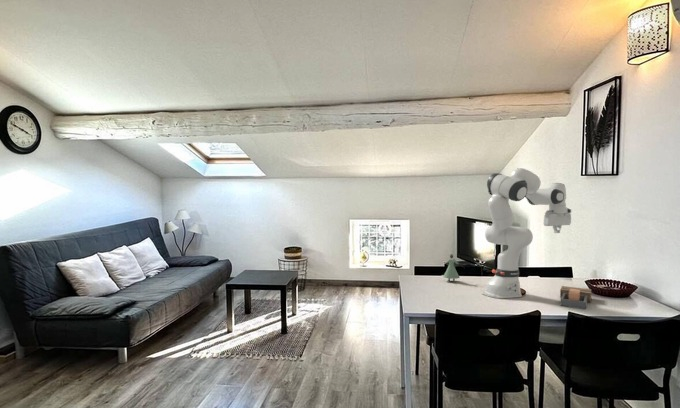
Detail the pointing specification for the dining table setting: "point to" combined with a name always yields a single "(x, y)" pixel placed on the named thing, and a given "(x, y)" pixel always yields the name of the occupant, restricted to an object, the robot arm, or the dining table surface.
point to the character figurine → (451, 269)
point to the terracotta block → (574, 294)
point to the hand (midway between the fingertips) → (557, 233)
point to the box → (574, 301)
